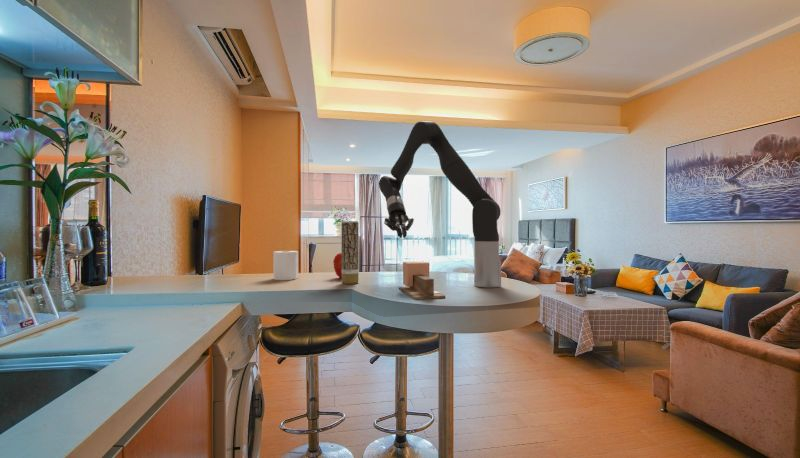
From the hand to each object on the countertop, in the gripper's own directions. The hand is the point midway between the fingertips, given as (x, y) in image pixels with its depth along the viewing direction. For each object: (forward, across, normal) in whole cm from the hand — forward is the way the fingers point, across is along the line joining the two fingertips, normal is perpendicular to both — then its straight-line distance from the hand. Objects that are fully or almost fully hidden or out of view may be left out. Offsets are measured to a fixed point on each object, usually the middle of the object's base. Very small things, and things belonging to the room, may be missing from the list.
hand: (402, 236), depth 143 cm
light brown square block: (+25, 0, -1) cm, 25 cm away
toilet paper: (-3, -47, +31) cm, 56 cm away
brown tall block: (+11, -21, +16) cm, 29 cm away
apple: (-1, -22, +28) cm, 35 cm away
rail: (+30, 0, -4) cm, 30 cm away
